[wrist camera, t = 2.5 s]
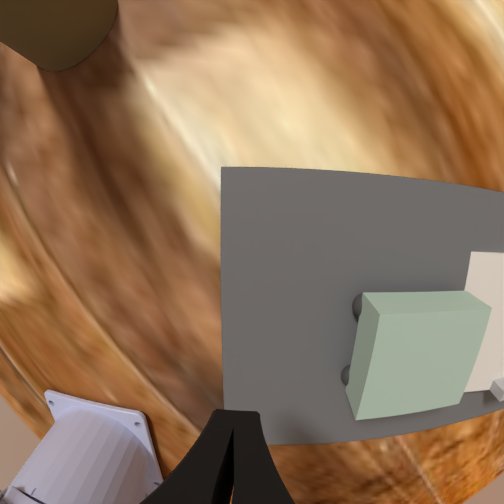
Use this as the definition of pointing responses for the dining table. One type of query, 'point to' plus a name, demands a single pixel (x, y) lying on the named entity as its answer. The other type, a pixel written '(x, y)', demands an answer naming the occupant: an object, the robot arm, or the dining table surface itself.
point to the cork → (55, 29)
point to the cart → (413, 351)
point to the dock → (345, 289)
